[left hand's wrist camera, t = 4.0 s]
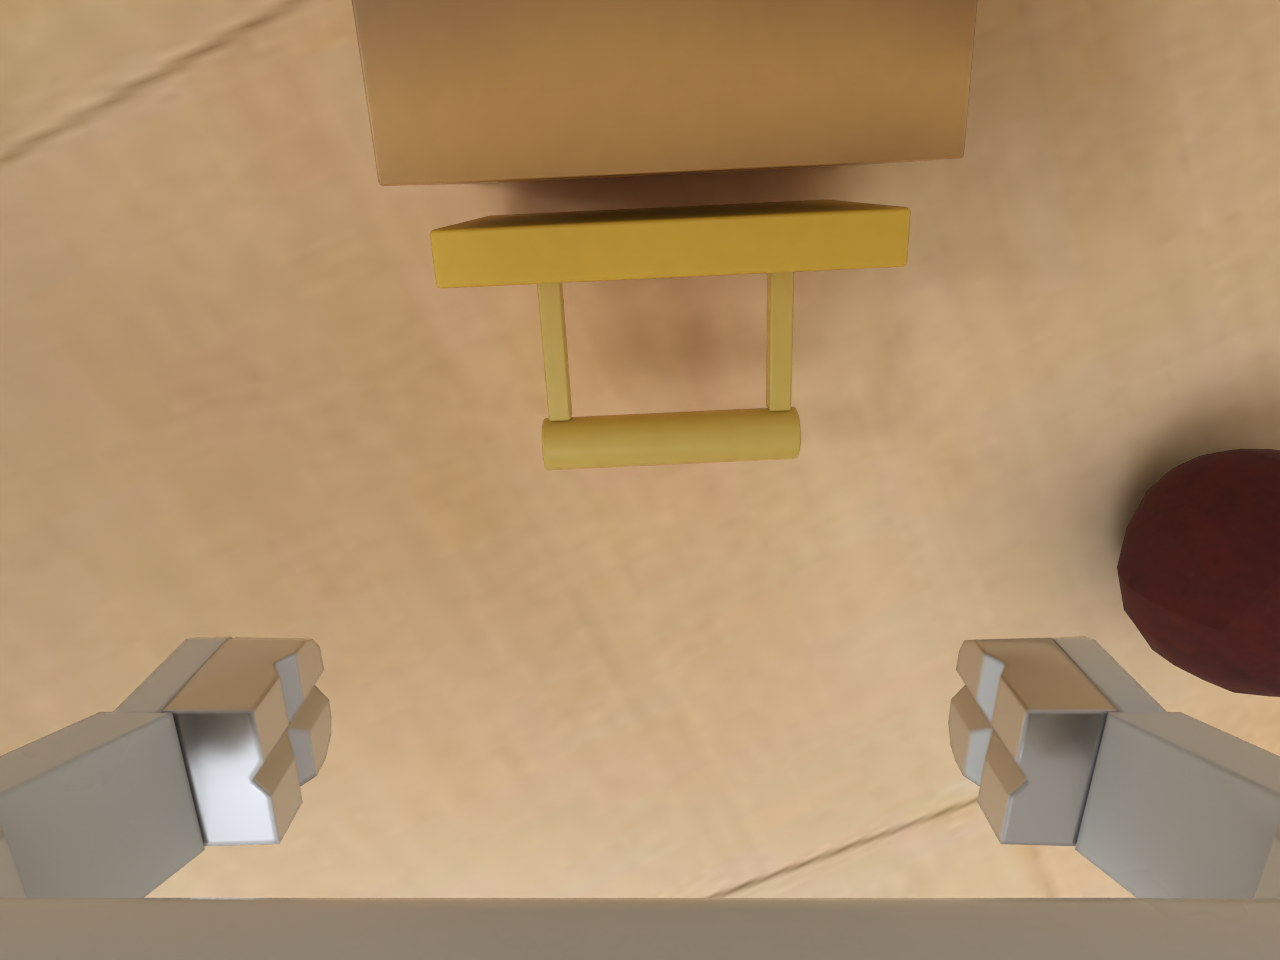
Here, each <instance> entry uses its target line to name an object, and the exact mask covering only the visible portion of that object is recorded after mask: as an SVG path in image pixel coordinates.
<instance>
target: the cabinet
mask: <svg viewBox="0 0 1280 960" xmlns="http://www.w3.org/2000/svg"><path fill="white" fill-rule="evenodd" d="M352 5H353V11H354V18H355V25H356V32H357V38H358V45H359V52H360V59H361V66H362V72H363V79H364V86H365V93H366V99H367V106H368V113H369V120H370V127H371V133H372V140H373V147H374V154H375V160H376V167H377V174H378V181H379V184H380V185H382V186H393V185H440V184H479V183H500V182H521V181H542V180H563V179H584V178H605V177H626V176H647V175H668V174H689V173H710V172H731V171H752V170H773V169H794V168H815V167H836V166H852V165H867V164H881V163H896V162H911V161H925V160H939V159H955V158H961V157H963V155H964V145H965V134H966V123H967V111H968V100H969V88H970V77H971V66H972V54H973V43H974V31H975V20H976V9H977V0H352Z"/></svg>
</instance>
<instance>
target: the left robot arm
mask: <svg viewBox="0 0 1280 960" xmlns="http://www.w3.org/2000/svg"><path fill="white" fill-rule="evenodd" d="M323 670H324V667H323V662H322V657H321V652H320V647H319V646H318V644H317V643H316V642H315V641H314V640H313V639H291V638H240V637H236V638H232V637H196V638H191V639H186V640H185V641H184V642H183V643H182V644H181V645H180V646H179V647H178V648H177V649H176V650H175V651H174V652H173V653H172V654H171V655H170V656H169V657H168V658H167V659H166V660H165V661H164V662H163V663H162V664H161V665H160V666H159V667H158V668H157V669H156V670H155V671H154V672H153V673H152V674H151V675H150V676H149V677H148V678H147V679H146V680H145V681H144V682H143V683H142V684H141V685H140V686H139V687H138V688H137V689H136V690H135V691H134V692H133V693H132V694H131V695H130V696H129V697H128V698H127V699H126V700H125V701H124V702H123V703H122V704H121V705H120V706H119V707H118V708H117V709H116V710H115V711H114V712H99V713H97V714H95V715H92V716H90V717H88V718H86V719H83V720H81V721H79V722H77V723H74V724H72V725H70V726H68V727H65V728H63V729H61V730H59V731H56V732H54V733H52V734H50V735H47V736H45V737H43V738H41V739H38V740H36V741H34V742H32V743H29V744H27V745H25V746H23V747H20V748H18V749H16V750H14V751H11V752H9V753H7V754H5V755H2V756H0V960H1280V756H1277V755H1275V754H1273V753H1271V752H1268V751H1266V750H1264V749H1262V748H1259V747H1257V746H1255V745H1253V744H1250V743H1248V742H1246V741H1244V740H1241V739H1239V738H1237V737H1235V736H1232V735H1230V734H1228V733H1226V732H1223V731H1221V730H1219V729H1217V728H1214V727H1212V726H1210V725H1208V724H1206V723H1203V722H1201V721H1199V720H1197V719H1194V718H1192V717H1190V716H1188V715H1185V714H1183V713H1181V712H1166V711H1165V710H1164V709H1163V708H1162V707H1161V706H1160V705H1159V704H1158V703H1157V702H1156V701H1155V700H1154V699H1153V698H1152V697H1151V696H1150V695H1149V694H1148V693H1147V692H1146V691H1145V690H1144V689H1143V688H1142V687H1141V686H1140V685H1139V684H1138V683H1137V682H1136V681H1135V680H1134V679H1133V678H1132V677H1131V676H1130V675H1129V674H1128V673H1127V672H1126V671H1125V670H1124V669H1123V668H1122V667H1121V666H1120V665H1119V664H1118V663H1117V662H1116V661H1115V660H1114V659H1113V658H1112V657H1111V656H1110V655H1109V654H1108V653H1107V652H1106V651H1105V650H1104V649H1103V648H1102V647H1101V646H1100V645H1099V644H1098V643H1097V642H1096V641H1095V640H1093V639H1090V638H1087V637H1085V636H1084V637H1059V638H1026V639H986V640H964V642H963V644H962V647H961V649H960V651H959V655H958V661H957V667H956V670H957V672H958V673H959V675H960V676H961V678H962V680H963V681H964V683H965V684H966V685H965V686H964V687H963V688H962V689H961V690H960V691H959V692H958V693H957V694H956V695H955V696H954V697H953V698H952V699H951V706H950V714H949V722H948V723H949V734H950V744H951V748H952V751H953V754H954V757H955V761H956V763H957V765H958V766H959V768H960V770H961V772H962V774H963V776H965V777H966V778H968V779H969V780H971V781H972V782H974V783H975V784H977V785H978V786H980V790H979V796H978V804H979V805H980V807H981V809H982V811H983V813H984V814H985V816H986V818H987V820H988V822H989V823H990V825H991V827H992V829H993V831H994V832H995V834H996V836H997V838H998V840H999V842H1000V843H1001V844H1019V845H1056V846H1076V848H1075V850H1077V851H1078V852H1079V853H1080V854H1082V855H1083V856H1084V857H1085V858H1087V859H1088V860H1089V861H1091V862H1092V863H1093V864H1094V865H1096V866H1097V867H1098V868H1099V869H1101V870H1102V871H1103V872H1105V873H1106V874H1107V875H1108V876H1110V877H1111V878H1112V879H1113V880H1115V881H1116V882H1117V883H1119V884H1120V885H1121V886H1122V887H1124V888H1125V889H1126V890H1127V891H1129V892H1130V893H1131V894H1133V895H1134V896H1135V897H1136V898H144V897H145V896H146V895H148V894H149V893H150V892H152V891H153V890H154V889H155V888H157V887H158V886H159V885H160V884H162V883H163V882H164V881H166V880H167V879H168V878H169V877H171V876H172V875H173V874H174V873H176V872H177V871H178V870H180V869H181V868H182V867H183V866H185V865H186V864H187V863H188V862H190V861H191V860H192V859H194V858H195V857H196V856H197V855H199V854H200V853H201V852H203V851H204V849H205V848H204V846H224V845H259V844H280V842H281V840H282V838H283V836H284V834H285V833H286V831H287V829H288V827H289V825H290V824H291V822H292V820H293V818H294V816H295V815H296V813H297V811H298V809H299V807H300V805H301V804H302V796H301V790H300V786H302V785H303V784H305V783H306V782H308V781H309V780H311V779H312V778H314V777H315V776H317V774H318V772H319V770H320V768H321V766H322V764H323V762H324V760H325V758H326V754H327V750H328V746H329V742H330V737H331V712H330V705H329V699H328V698H327V697H326V696H325V695H324V694H323V693H322V692H321V691H320V690H319V689H318V688H317V687H316V686H315V685H314V684H315V683H316V681H317V680H318V678H319V677H320V675H321V673H322V672H323Z"/></svg>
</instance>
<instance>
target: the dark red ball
mask: <svg viewBox="0 0 1280 960" xmlns="http://www.w3.org/2000/svg"><path fill="white" fill-rule="evenodd" d="M1117 569H1118V576H1119V582H1120V588H1121V594H1122V600H1123V607H1124V610H1125V612H1126V613H1127V614H1128V616H1129V617H1130V619H1131V620H1132V621H1133V623H1134V624H1135V625H1136V627H1137V628H1138V630H1139V631H1140V633H1141V634H1142V635H1143V637H1144V638H1145V640H1146V641H1147V643H1148V644H1149V645H1150V647H1151V648H1152V650H1154V651H1155V652H1156V653H1158V654H1159V655H1161V656H1162V657H1163V658H1165V659H1166V660H1168V661H1169V662H1170V663H1172V664H1173V665H1175V666H1177V667H1179V668H1181V669H1183V670H1185V671H1187V672H1189V673H1191V674H1193V675H1195V676H1197V677H1199V678H1201V679H1202V680H1205V681H1207V682H1210V683H1212V684H1215V685H1217V686H1219V687H1222V688H1224V689H1227V690H1229V691H1231V692H1235V693H1244V694H1253V695H1262V696H1274V697H1280V451H1279V450H1273V449H1237V450H1229V451H1224V452H1218V453H1213V454H1208V455H1203V456H1199V457H1197V458H1195V459H1192V460H1190V461H1188V462H1186V463H1184V464H1181V465H1179V466H1177V467H1175V468H1173V469H1172V470H1171V471H1169V472H1168V473H1167V474H1166V475H1165V476H1164V477H1163V478H1162V479H1161V480H1159V481H1158V482H1157V483H1156V484H1155V485H1154V486H1153V487H1152V488H1151V489H1149V490H1148V491H1147V493H1146V494H1145V496H1144V498H1143V500H1142V502H1141V503H1140V505H1139V507H1138V509H1137V511H1136V512H1135V514H1134V516H1133V518H1132V520H1131V521H1130V523H1129V525H1128V527H1127V529H1126V533H1125V537H1124V541H1123V546H1122V550H1121V554H1120V558H1119V562H1118V566H1117Z"/></svg>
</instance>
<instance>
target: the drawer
mask: <svg viewBox="0 0 1280 960" xmlns="http://www.w3.org/2000/svg"><path fill="white" fill-rule="evenodd" d="M909 225H910V209H909V208H907V207H898V206H887V205H877V204H867V203H856V202H846V201H836V200H811V201H790V202H769V203H748V204H727V205H706V206H685V207H663V208H642V209H621V210H600V211H579V212H558V213H537V214H516V215H495V216H487V217H483V218H479V219H475V220H471V221H467V222H463V223H459V224H455V225H451V226H447V227H443V228H439V229H435V230H432V231H431V233H430V238H431V246H432V253H433V261H434V269H435V277H436V284H437V286H438V287H439V288H458V287H479V286H500V285H521V284H537V287H538V299H539V310H540V322H541V333H542V345H543V356H544V368H545V379H546V391H547V402H548V413H549V418H546V419H544V420H543V424H542V451H543V459H544V465H545V467H546V469H547V470H559V469H580V468H602V467H624V466H646V465H667V464H689V463H711V462H733V461H754V460H776V459H795V458H797V457H798V455H799V451H800V443H801V431H800V421H799V415H798V412H797V410H796V408H794V407H791V383H792V335H793V287H794V272H797V271H818V270H839V269H861V268H882V267H903V266H905V265H906V263H907V255H908V240H909ZM755 273H767V372H766V405H767V407H768V408H758V409H737V410H715V411H693V412H672V413H650V414H629V415H607V416H586V417H571V415H572V406H571V393H570V380H569V367H568V354H567V341H566V328H565V315H564V302H563V289H562V283H564V282H585V281H606V280H627V279H649V278H670V277H691V276H712V275H733V274H755Z"/></svg>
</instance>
